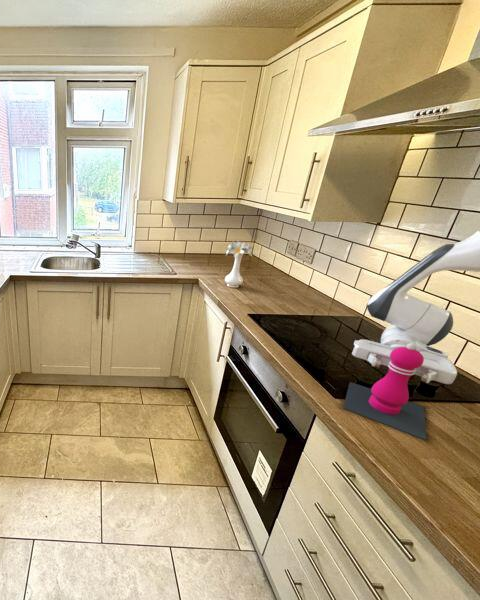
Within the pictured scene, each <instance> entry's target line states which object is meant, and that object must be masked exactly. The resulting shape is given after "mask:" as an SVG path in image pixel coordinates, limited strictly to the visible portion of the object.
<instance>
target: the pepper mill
mask: <svg viewBox="0 0 480 600" xmlns="http://www.w3.org/2000/svg"><path fill="white" fill-rule="evenodd" d="M416 348H417V346H416V345H415V344H413V343H409V344H407V347H398V348H395V349H394V350H393V351H392V352H391V354H390V358H391V360H392V361H390V362H389V365H388V371H387V372H386V374H385V375H384V376H383V377H382V378H380V379H378V381H376V382H375V383H374V384H373V385H372V386H371V388H370V389H371V392H372V394H373V395H372V396H371V397H370V399H369V404H370V405H371V406H372V407H373V408H375V409H376V410H378V411H380V412H383V413H386V414H390V415H396V414H398V413H399V412H400V410H401V406H402V405H404V404H406V403H407V402H409V399H410V393H409V387H408V386H409V385H408V384H409V379H410V377H411V376H415V375H414V374H415V371H416V369H415V368H418V367H420V366H421V365H422V364H423V362H424V358H423V355H422V354H421V353H420V352H419V351H417V350H415V349H416Z"/></svg>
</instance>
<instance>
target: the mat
mask: <svg viewBox="0 0 480 600" xmlns="http://www.w3.org/2000/svg"><path fill="white" fill-rule="evenodd" d="M348 383H349V384H348V388H347V392H346V395H345V400H344V404H343V407H342V408H343V409H344V410H347V411H349V412H352V413H354V414H357V415H360V416H361V417H364V418H367V419H370V420H372V421H375V422H378V423H380V424H383V425H385V426H388V427H391V428H392V429H396V430H399V431H401V432H403V433H405V434H409V435H411V436H414V437H417V438H419V439H421V440H423V441H427V440H428V439H427V430H426V419H425V418H426V417H425V408H424V406H422V405H420V404H418V403H417V404H416V403H413V402H412V401H411V402H410V401H408V402H407V403H406V404H404V405H402V406H401V410H400V412H399V413H398V414H396V415H390V414H386V413H383V412H380V411H378V410H376V409H375V408H373V407H372V406H371V405H370V404H369V399H370V397H371V396H372V395H373V394H372V392H371V389H372V388H370V387H368V386H367V387H366V386H363V385H361V384H357V383H356V382H352V381H349V382H348Z"/></svg>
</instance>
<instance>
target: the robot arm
mask: <svg viewBox="0 0 480 600" xmlns="http://www.w3.org/2000/svg"><path fill="white" fill-rule="evenodd" d="M445 271H461V272H473V273H480V228H479V229H478V230H477V231H476V232H474V233H473V234H471V235H470V236H469V237H467V238H465V239H463V240H461V241H459V242H455V243H446V244H443V245H441V246H439V247H437V248H436V249H434V250H433V251H432V252H430V253H429V254H427V255H426V256H425V257H423V258H422V259H420V260H419V261H417V262H416V263H415V264H414V265H413V266H411V267H410V268H409V269H408V270H406V271H405V272H404V273H402V274H401V275H400V276H399V277H397V278H396V279H395V280H393V281H392V282H390V283H389V284H388V285H387V286H385V287H384V288H382V289H380V290H378V291H377V292H375V293H374V294H373V295H372V296H371V297H370V298H369V300H368V301H367V304H366V309H367V312H368V314H369V315H370V316H371V317H372V318H375V319H377V320H380V321H382V322H386V323H388V324H389V325H388V326H387V327H385V329H384V330H383V332H382V334H381V336H380V342H377V341H374V340H369V339H365V338H364V339H363V338H362V339H359V340H357V339H355V340H354V341H353V346H354V347H353V349H352V352H351V355H352V356H353V357H354V358H357V359H360V360H364V361H367V362H369V363H370V364H371V367H374V368H377V369H379V368H380V366H384V367H388V365H389V362H390V361H392V360H391V358H390V354H391V352H392V351H393V350H394V349H395V348H398V347H407V344H409V343H413V344H415V345H416V346H417V348H416V349H415V350H417V351H419V352H420V353H421V354H422V355H423V358H424V362H423V364H422V365H421V366H420V367H418V368H415V369H416V371H415V374H414V375H413V376H417V377H420V378H419V380H420V382H423V383H426V384H430V382H431V381H434V382H437V383H441V384H444V385H452V384H453V383H454V381H455V380H456V378H457V375H458V371H457V368H456V366H455V364H454V362H453V361H451V360H450V359H448V358H449V354H448V353H447V352H445V351H442V350H440V349H437V348H434V347H432V346H433V345H436V344H438V343H439V342H441V341H443V340H444V339H445V338H446V337H447V336H448V335H449V334H450V332H451V331H452V329H453V326H454V317H453V314H452V312H451V311H450V310H447V309H445V308H443V307H440V306H438V305H435V304H433V303H431V302H428V301H425V300H423V299H419V298H417V297H415V296H413V295H411V294H408V292H409V291H411V290H412V289H413V288H414V287H416V286H417V285H419V284H420V283H421V282H422V281H424V280H426V279H427V278H428V277H430V276H431V275H433V274H436V273H438V272H445ZM388 368H389V367H388Z"/></svg>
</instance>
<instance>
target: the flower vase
mask: <svg viewBox="0 0 480 600" xmlns="http://www.w3.org/2000/svg"><path fill="white" fill-rule="evenodd" d="M226 249H227V250H226V252H225V257H227V256H228V255H229V254H232V255H233V257H234V262H233V267H232V270H231V271H230V273H229V274H227V275H226V276H225V278H224V282H225V283H226V287H229V288H234V289H235V288H239V287H240V286H241V285H242V284H243V283H244V279H243V276H242V275H241V273H240V268H241V267H240V266H241V262H242V258H243V256H244V255H245V253H246V254H248V255H249V256H250V257H253V254H252V252H253V249H252V246H251V244H250V242H249V243H248V245H247V244H246V242H245V241H244V242H241V241H239V240H238V241H236V242H235V240H233V241H232V242H230V244H229V245H228V246H226Z"/></svg>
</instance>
